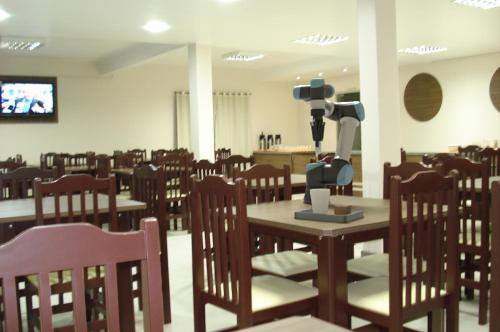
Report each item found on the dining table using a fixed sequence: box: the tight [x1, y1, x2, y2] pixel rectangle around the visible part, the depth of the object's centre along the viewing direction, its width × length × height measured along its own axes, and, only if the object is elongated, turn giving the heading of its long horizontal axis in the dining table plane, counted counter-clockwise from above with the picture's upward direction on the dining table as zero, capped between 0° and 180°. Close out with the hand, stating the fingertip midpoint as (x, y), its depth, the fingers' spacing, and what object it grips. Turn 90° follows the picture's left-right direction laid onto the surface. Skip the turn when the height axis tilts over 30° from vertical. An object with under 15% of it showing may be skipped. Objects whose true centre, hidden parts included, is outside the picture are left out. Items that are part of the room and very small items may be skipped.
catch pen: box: [293, 207, 364, 224], centre depth 255 cm, size 19×26×3 cm
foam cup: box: [310, 188, 331, 214], centre depth 258 cm, size 10×9×13 cm
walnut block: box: [333, 204, 352, 215], centre depth 253 cm, size 6×6×6 cm
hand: (318, 153), depth 283 cm, fingers closed
